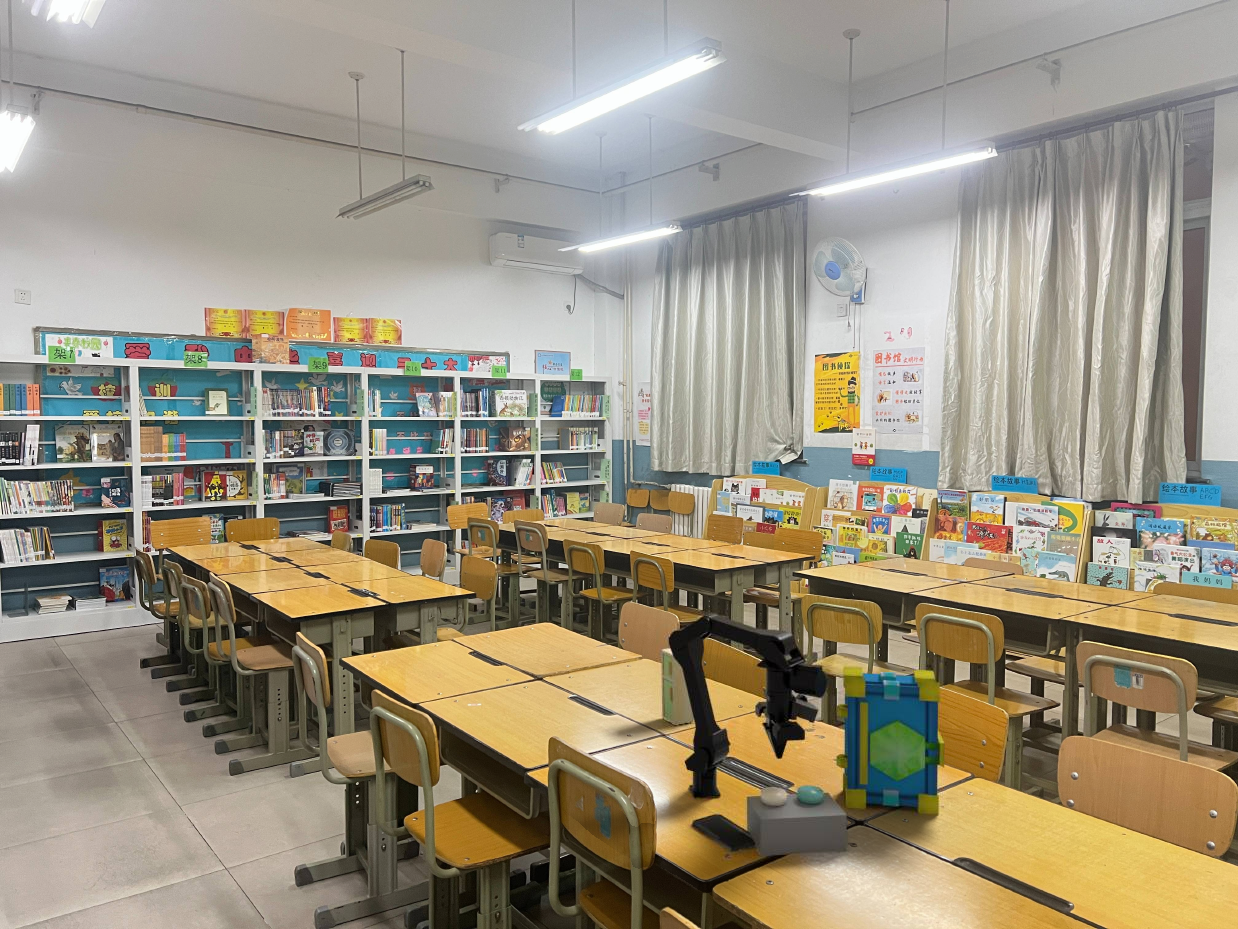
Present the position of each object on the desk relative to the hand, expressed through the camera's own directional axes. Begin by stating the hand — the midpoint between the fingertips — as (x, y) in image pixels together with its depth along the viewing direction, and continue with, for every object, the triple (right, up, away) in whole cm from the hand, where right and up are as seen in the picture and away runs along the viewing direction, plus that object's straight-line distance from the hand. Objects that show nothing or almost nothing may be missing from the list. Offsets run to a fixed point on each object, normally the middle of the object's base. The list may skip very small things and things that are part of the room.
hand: (779, 758), depth 193 cm
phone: (-13, -14, -8) cm, 21 cm away
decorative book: (+26, -13, +7) cm, 30 cm away
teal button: (+5, -9, -9) cm, 13 cm away
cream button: (-3, -9, -10) cm, 13 cm away
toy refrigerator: (-19, -11, +64) cm, 67 cm away
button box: (+1, -13, -11) cm, 18 cm away
